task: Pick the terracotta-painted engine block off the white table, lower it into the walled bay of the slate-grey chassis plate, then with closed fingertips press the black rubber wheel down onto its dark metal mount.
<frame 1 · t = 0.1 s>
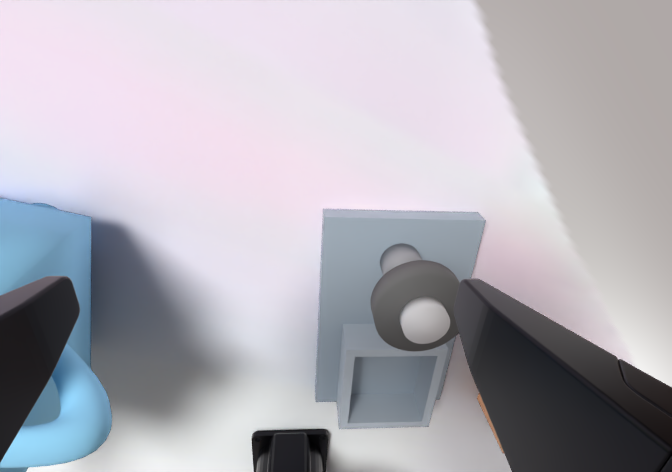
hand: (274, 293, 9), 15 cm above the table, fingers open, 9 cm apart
chassis: (387, 311, 28), on the table
wheel: (420, 311, 20), point 6 cm above the table, slide at 0.0 cm
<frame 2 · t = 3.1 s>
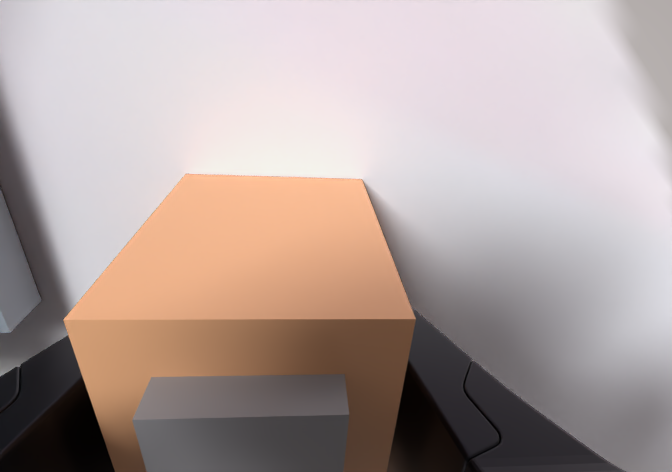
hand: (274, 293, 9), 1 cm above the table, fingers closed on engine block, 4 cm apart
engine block: (277, 269, 10), on the table, touching gripper
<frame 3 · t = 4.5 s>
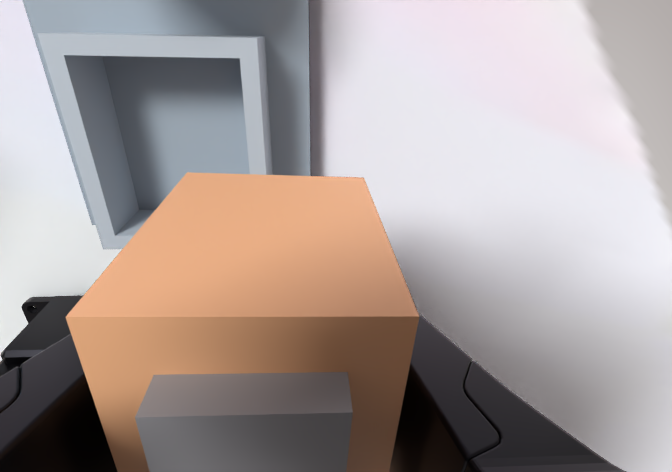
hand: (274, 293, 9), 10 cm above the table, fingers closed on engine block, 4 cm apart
chassis: (182, 29, 15), on the table
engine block: (278, 267, 10), point 9 cm above the table, touching gripper
when the fingers open (4 cm above the table, at t = 6.2 s): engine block drops 2 cm, resting on chassis.
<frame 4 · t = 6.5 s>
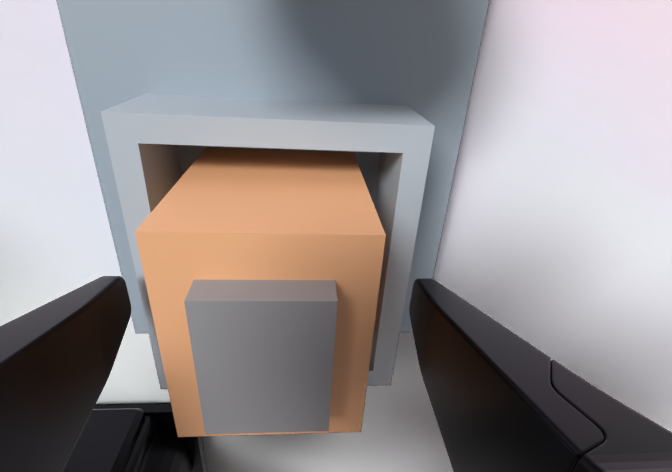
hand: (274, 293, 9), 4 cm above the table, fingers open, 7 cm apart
chassis: (283, 87, 11), on the table
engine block: (282, 230, 12), point 1 cm above the table, touching chassis
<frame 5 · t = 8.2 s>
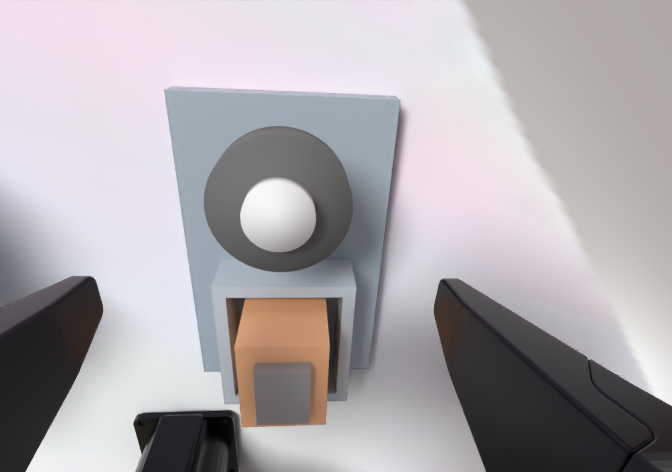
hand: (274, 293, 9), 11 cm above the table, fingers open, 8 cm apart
chassis: (287, 246, 21), on the table
wheel: (280, 206, 13), point 6 cm above the table, slide at 0.0 cm
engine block: (287, 317, 22), point 1 cm above the table, touching chassis
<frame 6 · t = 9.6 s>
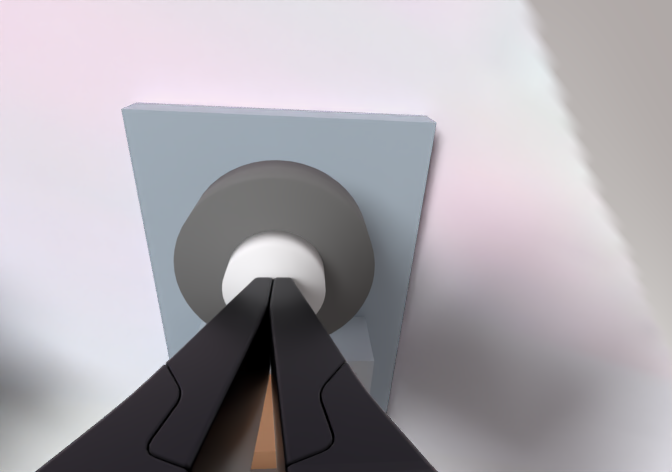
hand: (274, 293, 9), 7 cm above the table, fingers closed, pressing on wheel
chassis: (286, 296, 17), on the table
wheel: (277, 266, 10), point 5 cm above the table, slide at 0.9 cm, touching gripper
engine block: (285, 382, 18), point 1 cm above the table, touching chassis
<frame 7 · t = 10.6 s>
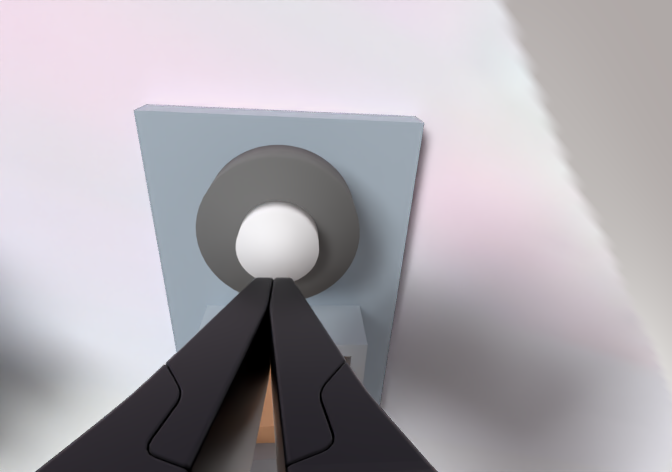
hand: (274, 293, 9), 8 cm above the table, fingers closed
chassis: (286, 287, 18), on the table
wheel: (279, 232, 12), point 4 cm above the table, slide at 2.1 cm
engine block: (285, 368, 19), point 1 cm above the table, touching chassis
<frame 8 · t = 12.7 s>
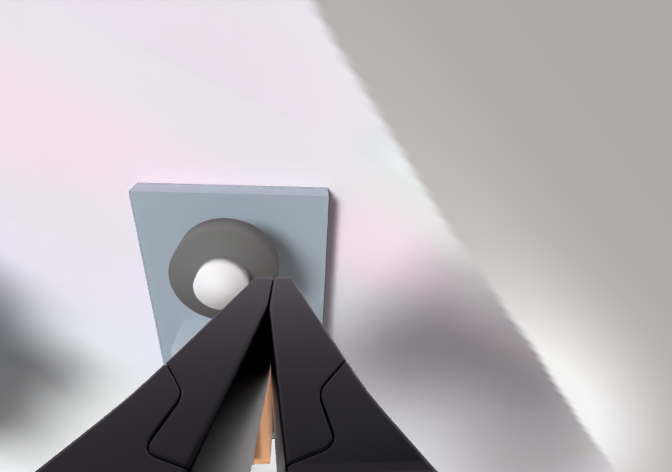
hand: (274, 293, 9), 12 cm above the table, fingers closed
chassis: (243, 305, 25), on the table
wheel: (224, 275, 19), point 4 cm above the table, slide at 2.1 cm
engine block: (243, 365, 25), point 1 cm above the table, touching chassis
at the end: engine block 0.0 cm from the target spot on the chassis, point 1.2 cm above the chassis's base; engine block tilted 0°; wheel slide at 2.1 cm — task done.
